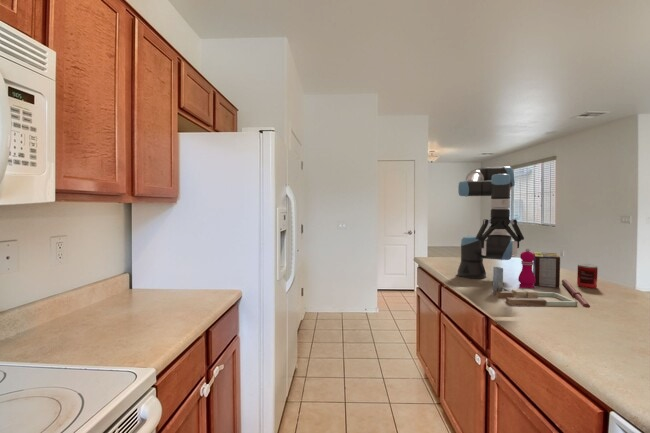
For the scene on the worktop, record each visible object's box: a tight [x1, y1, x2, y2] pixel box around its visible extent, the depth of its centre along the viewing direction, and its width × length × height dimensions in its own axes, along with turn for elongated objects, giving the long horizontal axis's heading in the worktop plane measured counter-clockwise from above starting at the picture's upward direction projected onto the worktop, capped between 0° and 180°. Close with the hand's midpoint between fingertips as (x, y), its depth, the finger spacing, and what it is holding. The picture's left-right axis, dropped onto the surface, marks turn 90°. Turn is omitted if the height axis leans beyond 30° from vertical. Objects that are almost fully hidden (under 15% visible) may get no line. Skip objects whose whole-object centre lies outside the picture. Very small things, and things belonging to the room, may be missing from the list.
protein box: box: [532, 251, 561, 289], centre depth 164 cm, size 10×15×16 cm
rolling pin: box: [561, 279, 591, 308], centre depth 145 cm, size 45×3×3 cm, turn 152°
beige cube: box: [511, 288, 527, 298], centre depth 134 cm, size 4×4×4 cm
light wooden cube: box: [522, 288, 539, 298], centre depth 133 cm, size 4×4×4 cm
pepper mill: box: [517, 248, 536, 289], centre depth 155 cm, size 7×7×20 cm
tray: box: [537, 291, 578, 307], centre depth 133 cm, size 14×12×3 cm
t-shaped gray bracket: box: [492, 266, 512, 294], centre depth 144 cm, size 6×7×13 cm
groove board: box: [494, 291, 547, 307], centre depth 134 cm, size 14×14×3 cm
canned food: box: [576, 263, 599, 290], centre depth 158 cm, size 8×8×11 cm
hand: (499, 255), depth 143 cm, fingers open, 13 cm apart
